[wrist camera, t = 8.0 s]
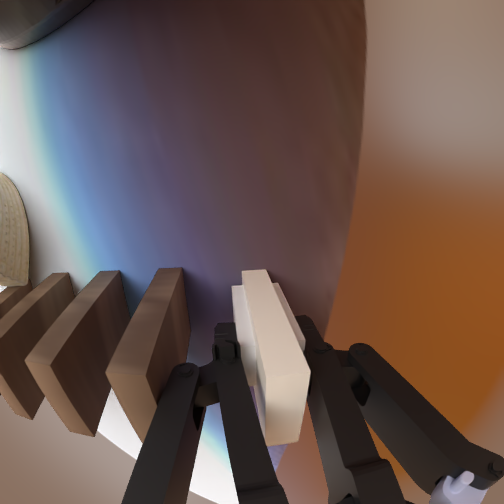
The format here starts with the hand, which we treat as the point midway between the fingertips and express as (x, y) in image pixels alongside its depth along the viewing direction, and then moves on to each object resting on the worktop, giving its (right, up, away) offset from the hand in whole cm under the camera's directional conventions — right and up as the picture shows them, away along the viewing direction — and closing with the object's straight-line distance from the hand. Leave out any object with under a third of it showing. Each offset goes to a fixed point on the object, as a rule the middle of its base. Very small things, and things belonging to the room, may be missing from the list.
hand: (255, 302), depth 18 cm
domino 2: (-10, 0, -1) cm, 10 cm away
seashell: (-21, +6, -4) cm, 22 cm away
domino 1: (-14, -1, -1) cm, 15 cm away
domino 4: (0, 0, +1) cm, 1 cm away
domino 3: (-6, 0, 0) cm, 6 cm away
